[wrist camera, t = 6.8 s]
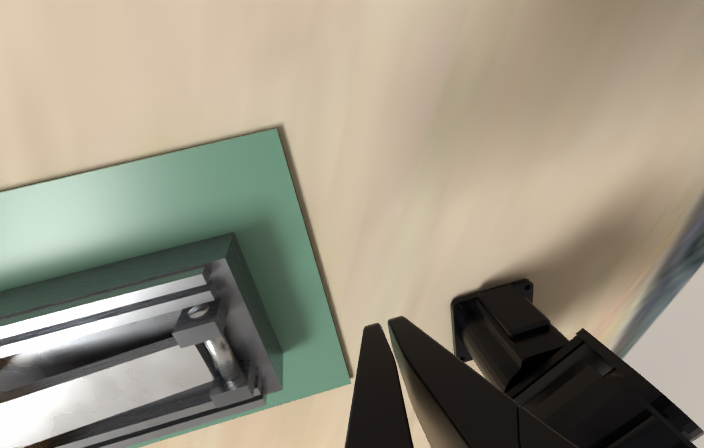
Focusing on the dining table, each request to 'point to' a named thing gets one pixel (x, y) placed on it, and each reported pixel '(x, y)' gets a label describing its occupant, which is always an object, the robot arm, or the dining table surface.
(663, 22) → the dining table surface
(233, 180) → the board
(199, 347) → the grey flat long bar
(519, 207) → the dining table surface
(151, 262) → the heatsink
